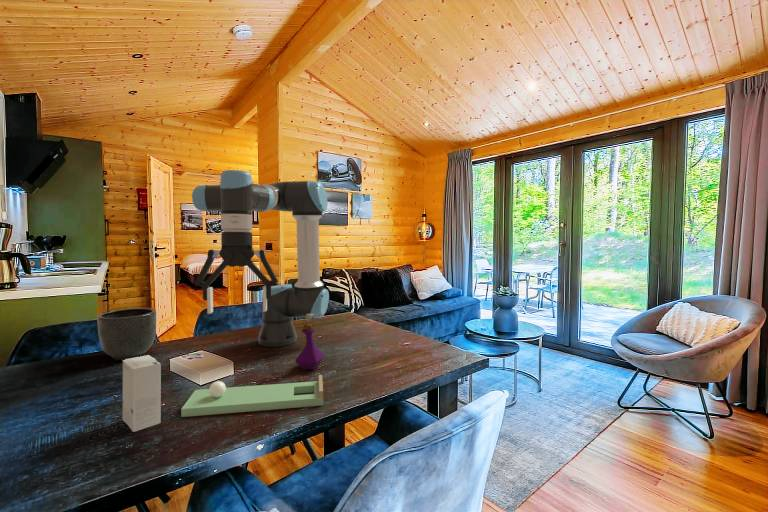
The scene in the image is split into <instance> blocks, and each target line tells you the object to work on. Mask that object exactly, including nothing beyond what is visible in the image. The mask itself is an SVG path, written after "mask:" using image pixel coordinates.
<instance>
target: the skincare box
mask: <svg viewBox="0 0 768 512" xmlns="http://www.w3.org/2000/svg"><path fill="white" fill-rule="evenodd" d="M121 362H122V421H123V422H124V423H125V424H126V425H127V426H128V427H129V429H130V430H131V432H133V433H134V432H138V431H141V430H144V429H147V428H150V427H153V426H156V425H159V424H161V423H162V421H161V417H162V416H161V415H162V413H161V411H162V410H161V408H162V407H161V405H162V403H161V398H162V397H161V395H162V394H161V391H162V390H161V384H162V381H161V379H162V376H161V375H162V370H161V369H162V366H161V365H162V364H161V362H159V361H158V360H157V359H156V358H155V357H152V356H151V355H149V354H147V355H146V354H144V355H143V356H140V357H135V358H130V359H125V360H122V361H121Z"/></svg>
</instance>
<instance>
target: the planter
mask: <svg viewBox="0 0 768 512" xmlns="http://www.w3.org/2000/svg"><path fill="white" fill-rule="evenodd" d="M96 321H97V333H98V338H99V339H98V340H99V343H100V346H101V348H102V350H103V352H104V353H105V354H107V355H108V356H110V357H112V358H113V360H114V359H117V360H123V359H130V358H135V357H139V356H141V355H143V354H144V355H146V352H147V351H148V350H149V349H151V347H152V346H153V345H154V341H155V339H156V335H157V334H156V333H157V323H158V322H157V321H158V320H157V310H156V309H154V308H151V307H150V308H148V307H145V308H144V307H137V308H124V309H123V308H122V309H117V310H111V311H107V312H102V313H100V314H98V315H97V319H96ZM144 355H143V356H144ZM117 360H116V361H117Z"/></svg>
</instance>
